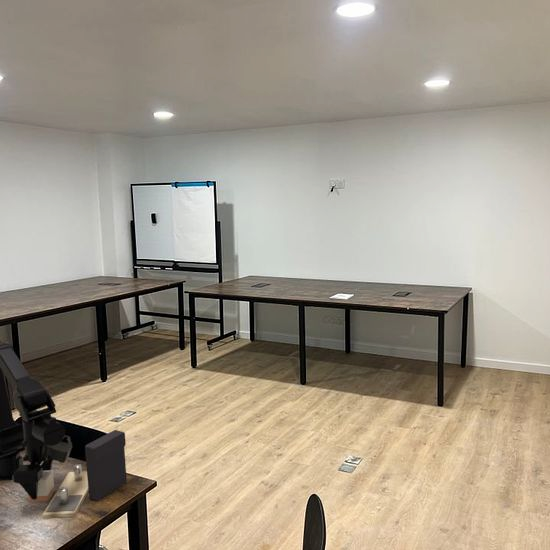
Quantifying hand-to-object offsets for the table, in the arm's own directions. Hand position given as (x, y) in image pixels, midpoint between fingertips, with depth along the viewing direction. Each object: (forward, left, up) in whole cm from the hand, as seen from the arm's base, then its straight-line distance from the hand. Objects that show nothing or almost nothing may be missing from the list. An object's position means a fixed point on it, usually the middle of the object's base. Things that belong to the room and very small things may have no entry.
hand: (41, 489), depth 145 cm
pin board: (+8, 0, -2) cm, 8 cm away
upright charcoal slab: (+17, +1, -2) cm, 17 cm away
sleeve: (0, 0, -2) cm, 2 cm away
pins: (+8, 0, -2) cm, 8 cm away
